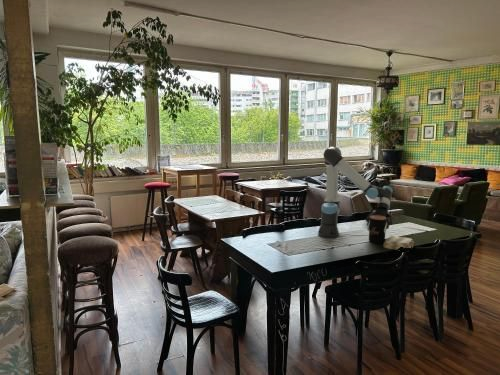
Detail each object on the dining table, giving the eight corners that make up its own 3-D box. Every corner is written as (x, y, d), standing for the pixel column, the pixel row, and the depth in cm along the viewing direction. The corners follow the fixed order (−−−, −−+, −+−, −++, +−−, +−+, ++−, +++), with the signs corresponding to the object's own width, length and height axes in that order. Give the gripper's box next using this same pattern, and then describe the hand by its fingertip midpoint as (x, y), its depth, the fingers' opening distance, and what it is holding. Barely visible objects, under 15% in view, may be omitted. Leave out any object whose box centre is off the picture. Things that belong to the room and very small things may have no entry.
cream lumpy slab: (383, 247, 244) (383, 240, 243) (389, 241, 257) (389, 234, 256) (409, 251, 235) (409, 244, 234) (413, 245, 248) (414, 238, 248)
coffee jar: (365, 240, 259) (366, 215, 256) (377, 239, 263) (379, 214, 260) (375, 245, 249) (377, 219, 246) (388, 243, 253) (389, 218, 250)
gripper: (400, 210, 259) (394, 236, 248) (367, 206, 272) (360, 231, 261) (399, 203, 254) (393, 230, 243) (366, 200, 267) (358, 225, 256)
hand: (376, 230), depth 252 cm, fingers closed on coffee jar, 11 cm apart
